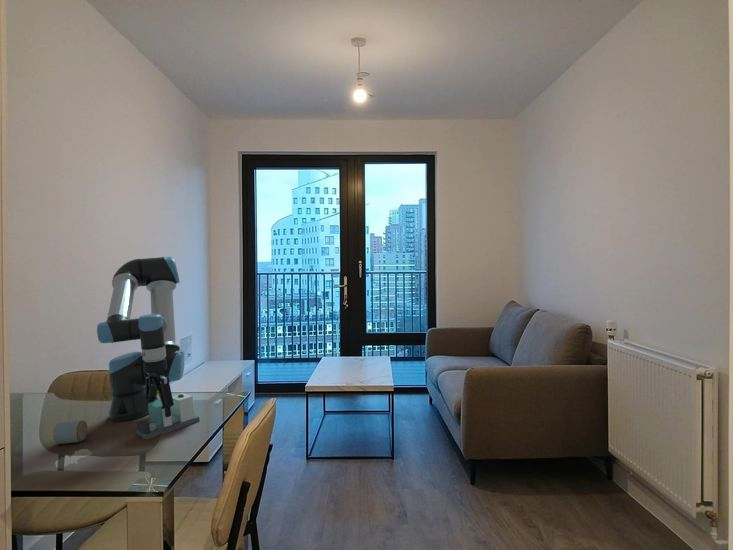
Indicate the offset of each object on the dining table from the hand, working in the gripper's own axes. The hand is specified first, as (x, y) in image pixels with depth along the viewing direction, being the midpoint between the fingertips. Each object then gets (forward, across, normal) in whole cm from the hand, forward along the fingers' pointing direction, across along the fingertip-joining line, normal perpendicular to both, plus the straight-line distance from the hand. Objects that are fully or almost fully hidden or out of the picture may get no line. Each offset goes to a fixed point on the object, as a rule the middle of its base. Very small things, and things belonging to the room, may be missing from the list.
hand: (161, 422), depth 170 cm
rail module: (+1, 0, 0) cm, 1 cm away
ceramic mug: (+3, -19, -22) cm, 29 cm away
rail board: (+3, 0, +2) cm, 4 cm away
